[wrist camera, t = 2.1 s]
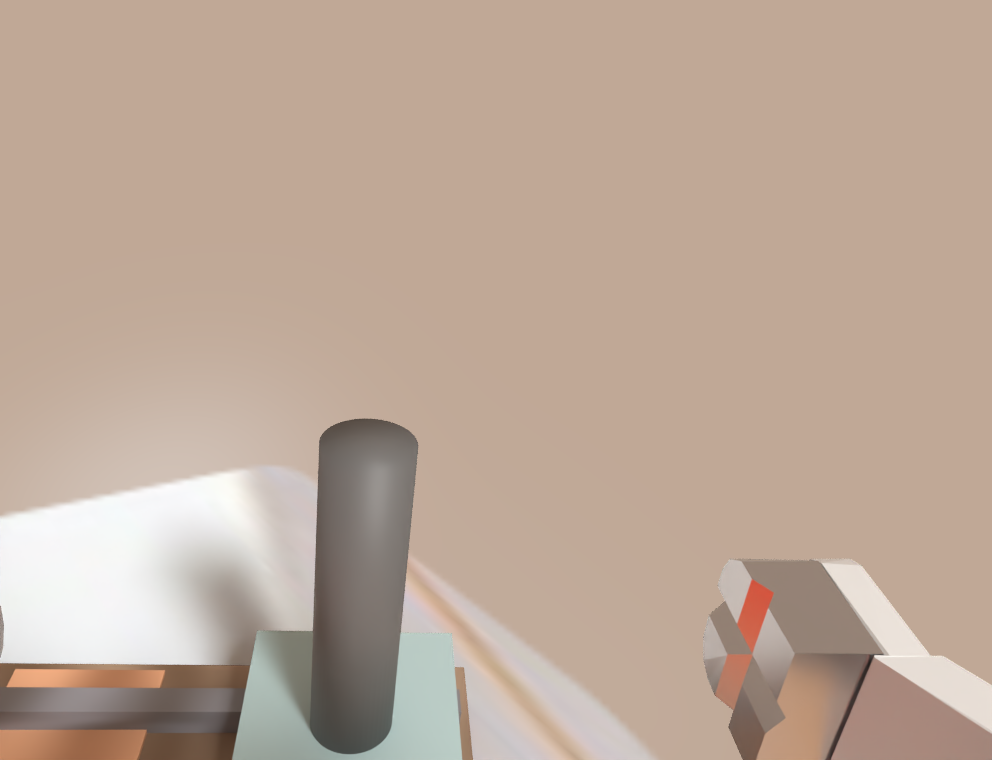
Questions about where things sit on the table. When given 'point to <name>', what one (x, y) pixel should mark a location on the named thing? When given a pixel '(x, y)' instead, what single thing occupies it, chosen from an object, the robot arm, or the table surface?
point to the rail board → (133, 711)
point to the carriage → (355, 626)
